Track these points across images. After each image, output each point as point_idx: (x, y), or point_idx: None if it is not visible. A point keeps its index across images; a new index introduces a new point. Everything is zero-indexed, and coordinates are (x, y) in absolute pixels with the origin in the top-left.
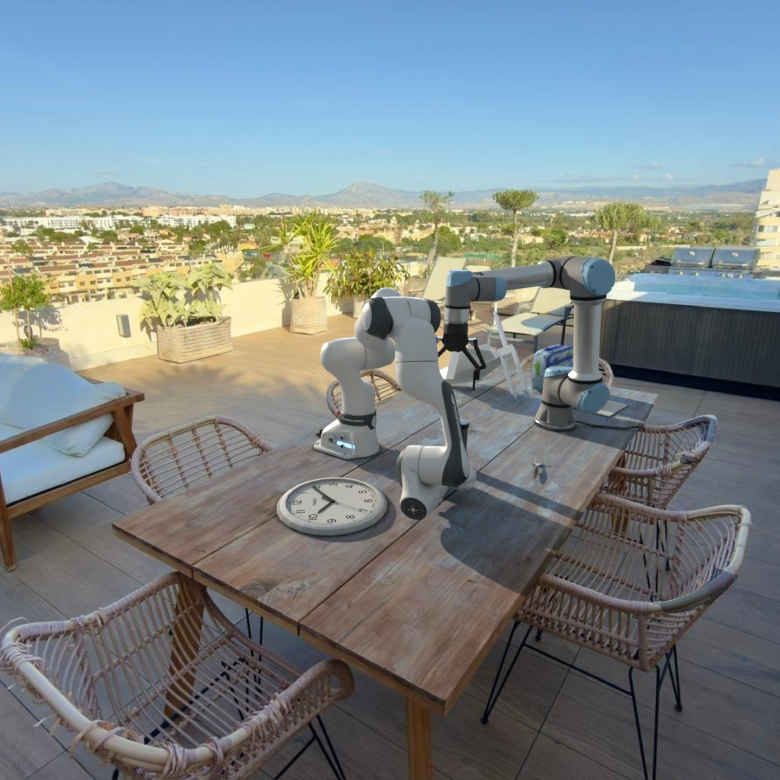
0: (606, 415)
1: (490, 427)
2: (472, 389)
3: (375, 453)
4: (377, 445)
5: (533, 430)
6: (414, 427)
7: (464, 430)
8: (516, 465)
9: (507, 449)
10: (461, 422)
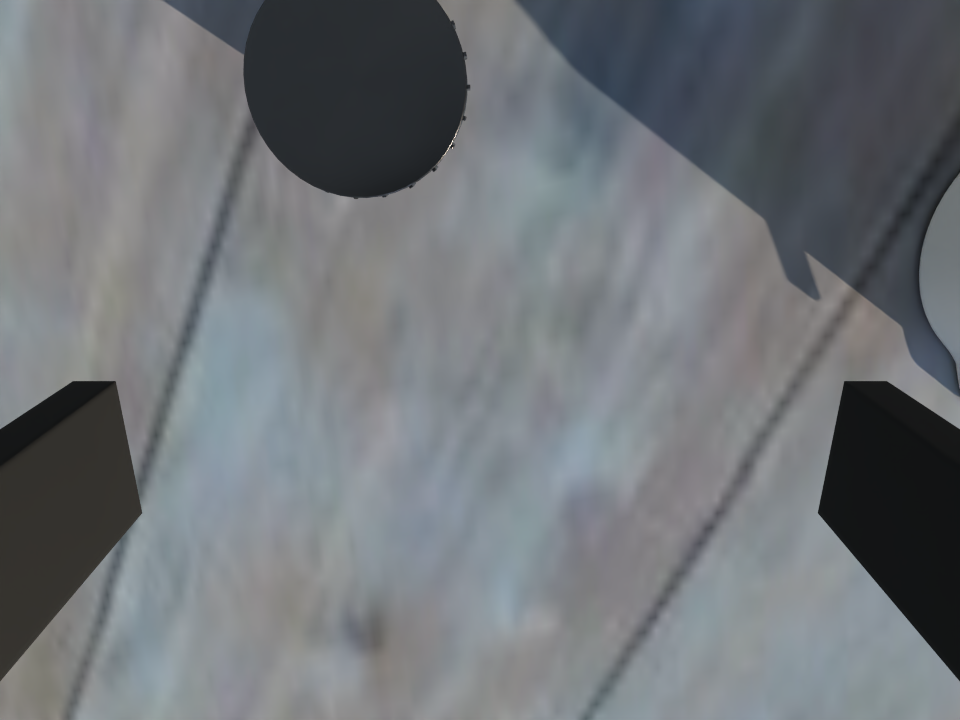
0: None
1: (274, 701)
2: (98, 389)
3: (948, 188)
4: (957, 247)
5: (38, 709)
6: (702, 620)
7: None
8: (48, 221)
9: (138, 438)
10: (329, 47)
